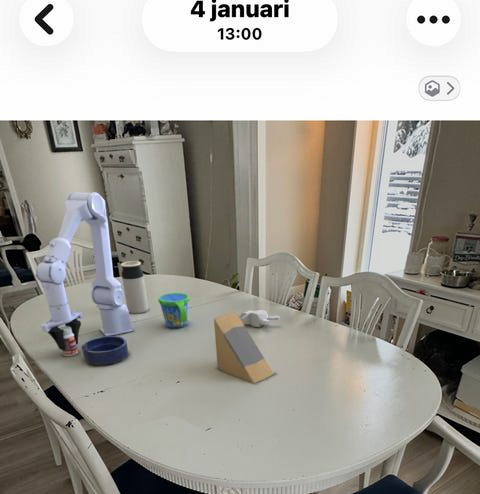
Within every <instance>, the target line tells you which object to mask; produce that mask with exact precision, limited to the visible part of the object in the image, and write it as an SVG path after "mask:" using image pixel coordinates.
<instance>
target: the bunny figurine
mask: <svg viewBox="0 0 480 494" xmlns="http://www.w3.org/2000/svg"><path fill="white" fill-rule="evenodd" d="M238 316H239V317H240V319H241V321H242V323H243V324H244V325H250V326H252V327H255V328H261V326H267V325H269V324H270V321H271V320H273V321H279V320H281V317H280V316H279V315H269V314H268V312H267V310H264V309H258V310H253V309H250V310H247V311H244V312H242V313H240V314H238Z"/></svg>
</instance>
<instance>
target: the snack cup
mask: <svg viewBox="0 0 480 494" xmlns="http://www.w3.org/2000/svg"><path fill="white" fill-rule="evenodd" d="M189 302H190V296H189V295H188V294H186V293H184V292H183V293H182V292H172V293H171V292H170V293H166V294H165V293H164V294H163V295H160V296H159V297H158V303H159V305H160V308H161V311H162V315H163V319H164V322H165V325H166V326H167V327H169V328H170V329H179V328H180V329H181V328H183V327H185V326H186V325H188V313H189V312H188V310H189Z"/></svg>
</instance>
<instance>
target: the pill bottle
mask: <svg viewBox="0 0 480 494" xmlns="http://www.w3.org/2000/svg"><path fill="white" fill-rule="evenodd" d="M59 328H60V329H62V330H64V332H63V337H64V343H65V350H61V352H62V355H63V356H64V357H73V356H75V355H77V354H79V351H78V346H77V345H78V344H77V345H76V341H75V337H74V334H73V333H72V329H71V327H69V326H66V325H65V326H59Z"/></svg>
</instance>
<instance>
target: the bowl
mask: <svg viewBox="0 0 480 494" xmlns="http://www.w3.org/2000/svg"><path fill="white" fill-rule="evenodd" d="M81 351H82V355H83V360H84V361H85V362H86V363H87V364H90V365H91V364H92V365H97V366H98V365H99V366H101V365H102V366H104V365H111V364H115V363H118V362H121V361H123V360H124V359H126V358H127V357H128V356H129V349H128V342H127V340H126V338H124V337H121V336H117V335H112V336H106V335H104V336H99V337H95V338H92V339H88V340H86V341H85V342H83V344H82V345H81Z"/></svg>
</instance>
